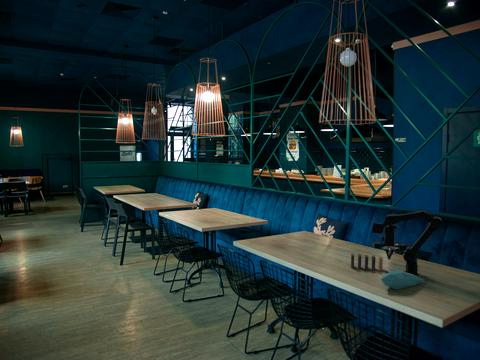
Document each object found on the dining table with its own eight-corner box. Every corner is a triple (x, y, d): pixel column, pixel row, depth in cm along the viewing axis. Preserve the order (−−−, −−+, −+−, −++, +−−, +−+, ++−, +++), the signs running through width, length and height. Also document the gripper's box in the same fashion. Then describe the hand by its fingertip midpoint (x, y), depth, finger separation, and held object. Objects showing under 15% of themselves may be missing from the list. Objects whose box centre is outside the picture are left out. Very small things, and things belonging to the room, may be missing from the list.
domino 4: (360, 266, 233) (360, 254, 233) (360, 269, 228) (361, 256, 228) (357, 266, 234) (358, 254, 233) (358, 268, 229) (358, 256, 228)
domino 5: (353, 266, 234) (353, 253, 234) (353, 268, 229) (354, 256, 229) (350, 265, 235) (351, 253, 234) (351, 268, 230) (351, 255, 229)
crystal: (427, 292, 204) (435, 278, 200) (382, 292, 189) (390, 277, 186) (414, 280, 212) (422, 267, 209) (370, 280, 198) (378, 265, 194)
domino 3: (367, 267, 232) (367, 255, 232) (367, 269, 227) (368, 257, 227) (364, 267, 232) (365, 254, 232) (365, 269, 228) (365, 256, 227)
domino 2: (374, 267, 231) (374, 255, 230) (374, 270, 226) (375, 257, 226) (371, 267, 231) (371, 255, 231) (372, 270, 227) (372, 257, 226)
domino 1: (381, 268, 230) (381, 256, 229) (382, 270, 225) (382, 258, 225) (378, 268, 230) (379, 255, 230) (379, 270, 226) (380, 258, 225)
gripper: (403, 233, 231) (402, 257, 232) (372, 231, 235) (371, 255, 236) (407, 237, 220) (405, 262, 221) (374, 235, 224) (373, 259, 225)
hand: (388, 259), depth 226 cm, fingers closed
